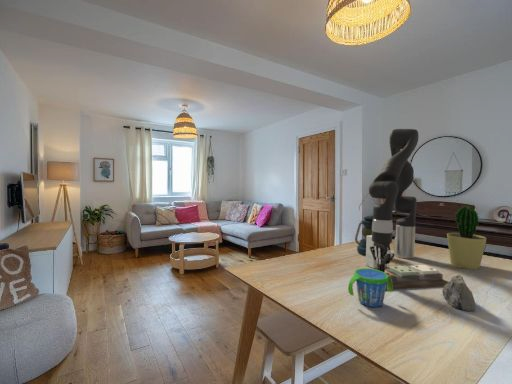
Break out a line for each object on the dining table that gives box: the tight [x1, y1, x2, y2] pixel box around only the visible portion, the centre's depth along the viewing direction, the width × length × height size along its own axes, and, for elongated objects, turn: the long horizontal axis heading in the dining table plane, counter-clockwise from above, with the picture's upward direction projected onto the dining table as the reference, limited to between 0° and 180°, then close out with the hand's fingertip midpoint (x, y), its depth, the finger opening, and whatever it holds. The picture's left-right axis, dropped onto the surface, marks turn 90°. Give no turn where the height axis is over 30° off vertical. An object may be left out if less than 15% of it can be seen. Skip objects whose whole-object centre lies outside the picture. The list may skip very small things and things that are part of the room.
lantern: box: [354, 192, 378, 257], centre depth 149 cm, size 14×12×35 cm
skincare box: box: [365, 235, 388, 269], centre depth 128 cm, size 8×6×15 cm
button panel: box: [374, 268, 449, 291], centre depth 109 cm, size 14×30×4 cm, turn 100°
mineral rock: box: [442, 274, 477, 312], centre depth 90 cm, size 13×11×10 cm
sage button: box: [388, 265, 417, 276], centre depth 109 cm, size 7×7×2 cm
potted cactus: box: [446, 205, 487, 270], centre depth 130 cm, size 15×15×30 cm
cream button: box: [409, 264, 439, 274], centre depth 111 cm, size 7×7×2 cm
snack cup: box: [347, 268, 394, 308], centre depth 89 cm, size 16×10×10 cm
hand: (380, 272), depth 107 cm, fingers closed
